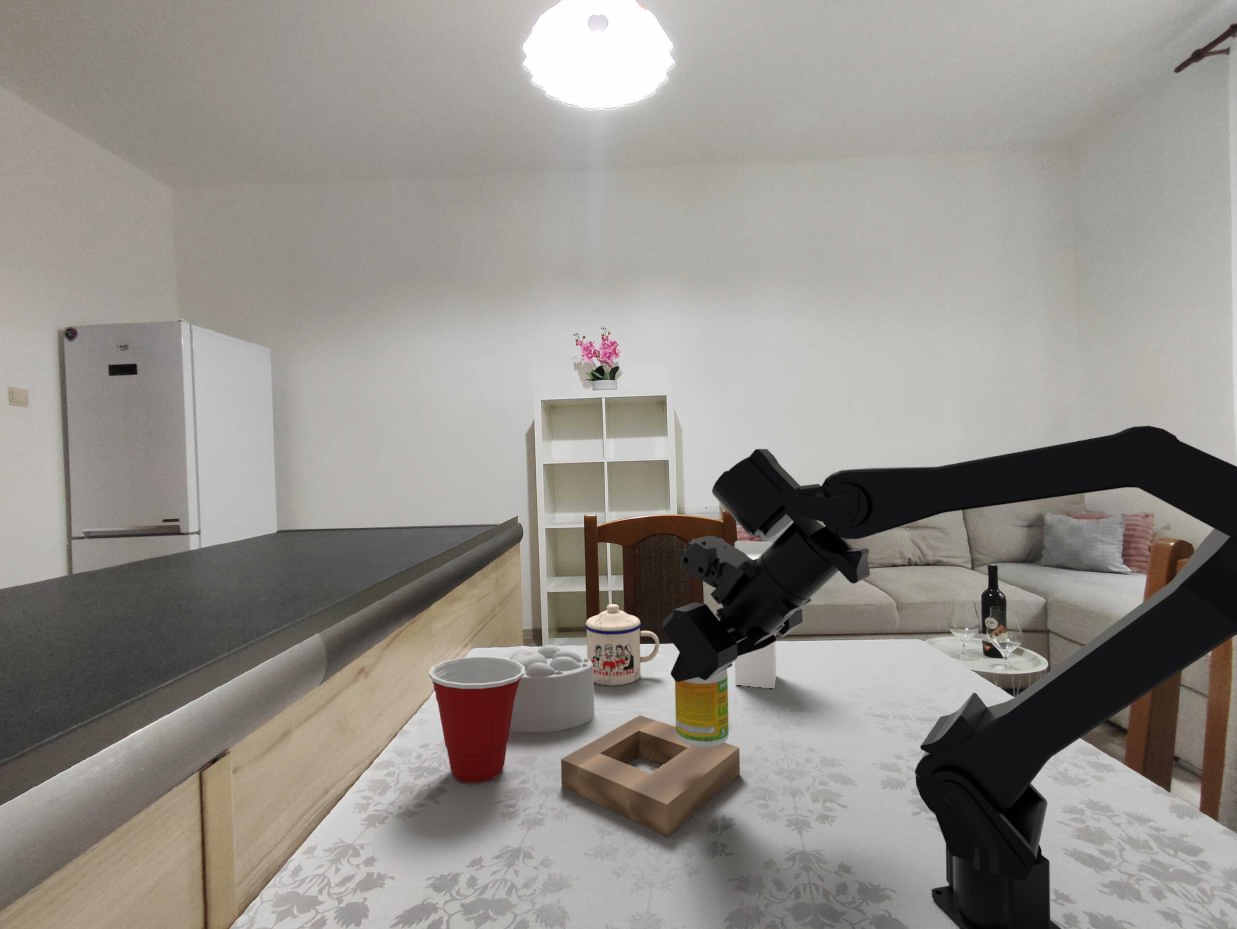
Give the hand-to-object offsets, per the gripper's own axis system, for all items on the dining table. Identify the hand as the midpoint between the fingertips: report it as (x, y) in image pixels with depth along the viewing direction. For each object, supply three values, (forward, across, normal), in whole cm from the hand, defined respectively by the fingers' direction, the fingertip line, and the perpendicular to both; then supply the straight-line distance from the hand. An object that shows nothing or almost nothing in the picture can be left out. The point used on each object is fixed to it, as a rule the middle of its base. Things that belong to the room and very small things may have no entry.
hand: (689, 669), depth 63 cm
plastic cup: (+25, +10, -6) cm, 28 cm away
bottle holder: (+14, 0, +5) cm, 15 cm away
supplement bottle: (+4, 0, +6) cm, 7 cm away
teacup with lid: (+29, -23, -10) cm, 38 cm away
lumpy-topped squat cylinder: (+28, -5, -10) cm, 31 cm away
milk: (+16, -34, +2) cm, 38 cm away
